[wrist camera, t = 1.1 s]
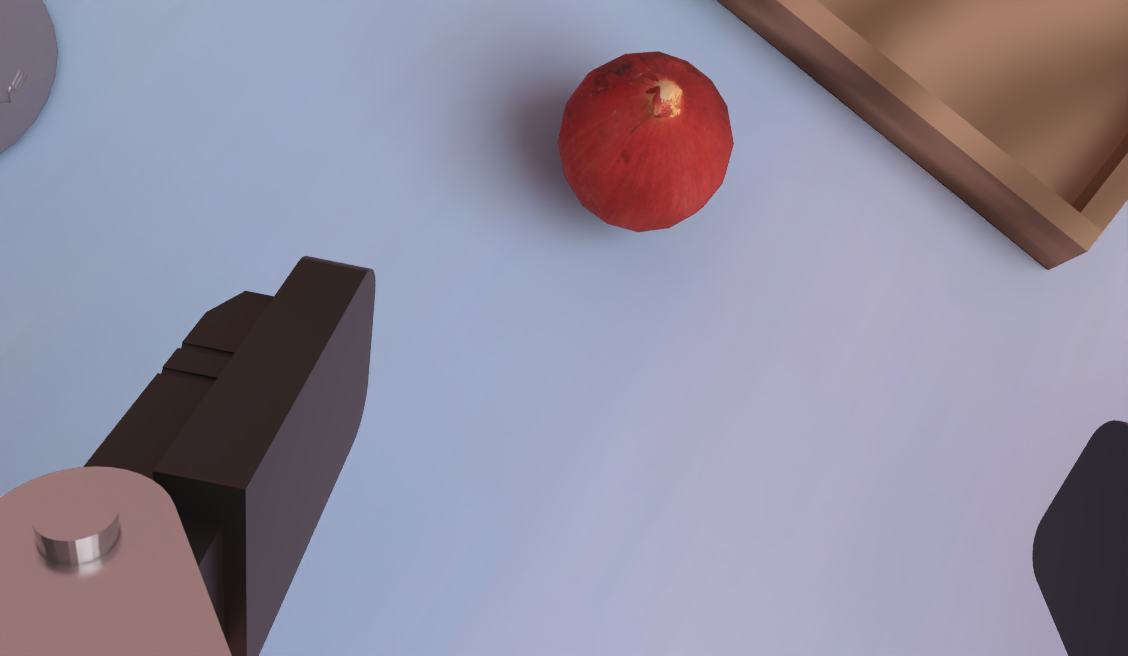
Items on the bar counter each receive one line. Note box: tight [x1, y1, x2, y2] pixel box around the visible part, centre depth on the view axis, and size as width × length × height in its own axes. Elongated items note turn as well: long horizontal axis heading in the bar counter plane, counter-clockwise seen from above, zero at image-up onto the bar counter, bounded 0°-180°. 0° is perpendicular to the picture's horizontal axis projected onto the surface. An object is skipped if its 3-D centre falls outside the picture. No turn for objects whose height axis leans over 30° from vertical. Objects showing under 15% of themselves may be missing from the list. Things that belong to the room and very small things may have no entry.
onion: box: [558, 51, 734, 232], centre depth 32 cm, size 6×6×8 cm
